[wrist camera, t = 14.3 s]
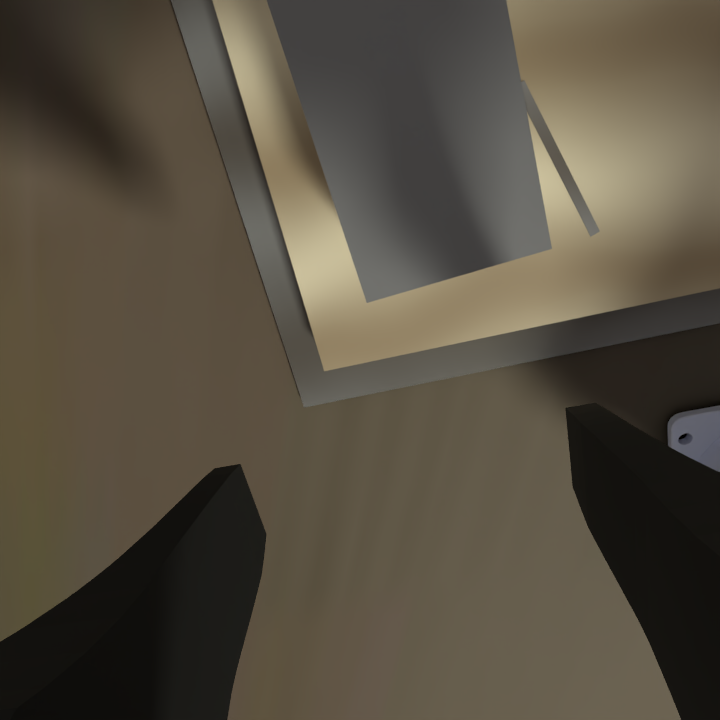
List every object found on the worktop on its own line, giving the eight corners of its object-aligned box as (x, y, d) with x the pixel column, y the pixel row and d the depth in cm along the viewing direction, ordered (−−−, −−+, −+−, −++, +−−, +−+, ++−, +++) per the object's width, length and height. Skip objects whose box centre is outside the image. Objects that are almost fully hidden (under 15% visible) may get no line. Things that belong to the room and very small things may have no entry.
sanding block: (511, 213, 17) (552, 248, 13) (369, 255, 18) (366, 303, 14) (446, -100, 14) (473, -178, 10) (278, -33, 15) (240, -81, 11)
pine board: (950, 271, 20) (1006, 288, 18) (305, 402, 23) (299, 428, 21) (1092, -517, 12) (1210, -618, 11) (118, -173, 15) (85, -207, 14)
